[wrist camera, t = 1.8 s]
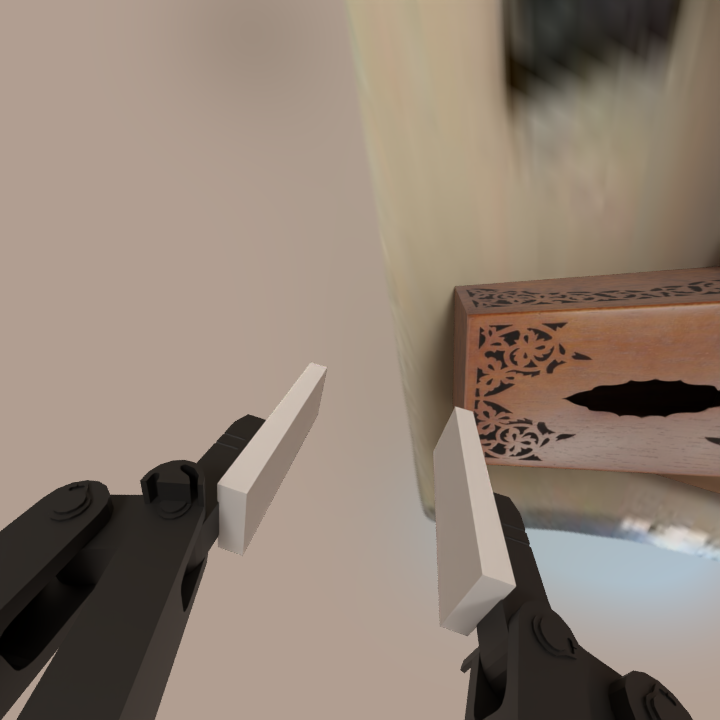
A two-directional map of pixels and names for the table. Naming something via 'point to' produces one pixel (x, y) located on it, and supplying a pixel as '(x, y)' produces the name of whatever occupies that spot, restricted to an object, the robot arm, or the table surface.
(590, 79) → the table surface
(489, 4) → the table surface
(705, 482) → the walnut fence
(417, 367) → the table surface
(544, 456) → the tissue box cover
